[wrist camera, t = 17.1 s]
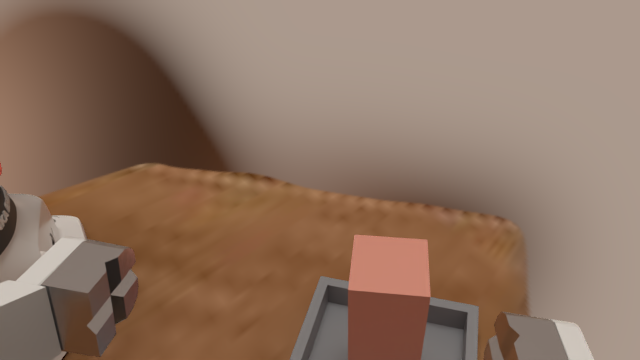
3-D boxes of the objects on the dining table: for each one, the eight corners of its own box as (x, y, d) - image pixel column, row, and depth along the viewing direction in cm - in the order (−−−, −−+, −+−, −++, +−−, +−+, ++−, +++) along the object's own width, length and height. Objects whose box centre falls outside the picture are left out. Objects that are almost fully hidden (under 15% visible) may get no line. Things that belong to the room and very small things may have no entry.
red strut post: (348, 401, 34) (347, 289, 27) (353, 346, 38) (354, 234, 31) (413, 409, 34) (430, 297, 27) (412, 352, 38) (427, 239, 30)
